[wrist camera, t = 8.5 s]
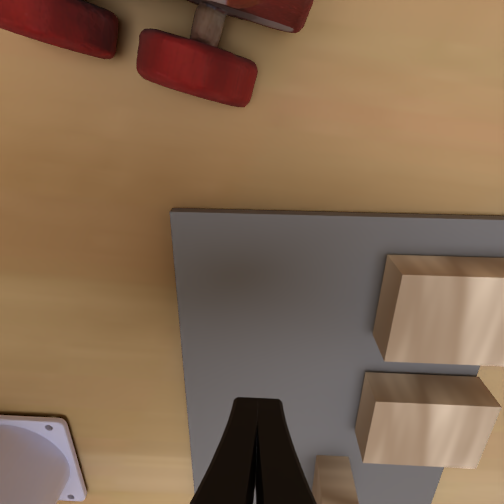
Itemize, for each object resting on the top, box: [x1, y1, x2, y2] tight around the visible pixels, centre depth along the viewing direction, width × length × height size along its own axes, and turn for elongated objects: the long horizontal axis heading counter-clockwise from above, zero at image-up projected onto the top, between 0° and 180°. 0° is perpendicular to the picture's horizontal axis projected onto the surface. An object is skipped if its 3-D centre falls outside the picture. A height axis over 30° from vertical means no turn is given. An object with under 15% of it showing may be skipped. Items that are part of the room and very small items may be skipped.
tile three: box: [373, 255, 504, 366], centre depth 16 cm, size 2×4×6 cm
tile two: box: [355, 372, 502, 469], centre depth 19 cm, size 2×4×6 cm
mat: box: [170, 208, 504, 504], centre depth 20 cm, size 16×22×1 cm
